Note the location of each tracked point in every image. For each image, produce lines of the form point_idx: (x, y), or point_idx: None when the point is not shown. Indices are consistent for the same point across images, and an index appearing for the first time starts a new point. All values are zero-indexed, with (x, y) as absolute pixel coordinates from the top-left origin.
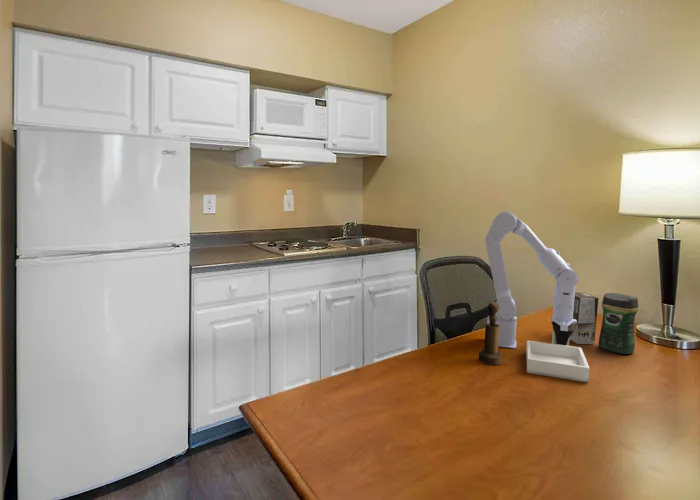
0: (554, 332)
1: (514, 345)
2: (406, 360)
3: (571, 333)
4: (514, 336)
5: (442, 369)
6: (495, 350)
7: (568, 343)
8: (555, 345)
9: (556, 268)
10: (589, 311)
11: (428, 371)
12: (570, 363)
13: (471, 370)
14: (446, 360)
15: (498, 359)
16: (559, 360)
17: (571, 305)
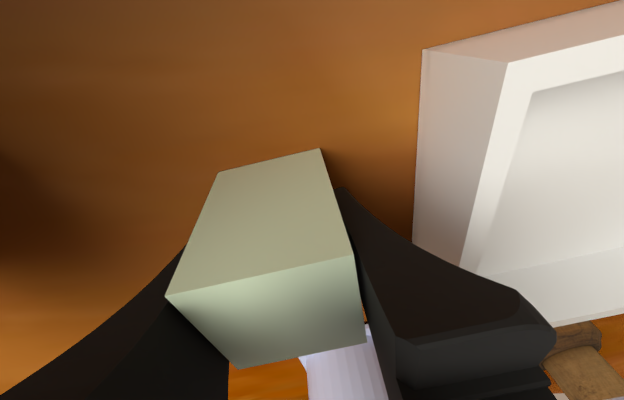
0: (318, 349)
1: (366, 332)
2: (554, 384)
3: (502, 285)
4: (372, 377)
5: (606, 350)
6: (605, 361)
7: (334, 198)
8: (478, 256)
9: None
10: None
11: (618, 356)
12: (569, 105)
13: (616, 324)
14: None
15: (592, 323)
16: (517, 171)
17: None
